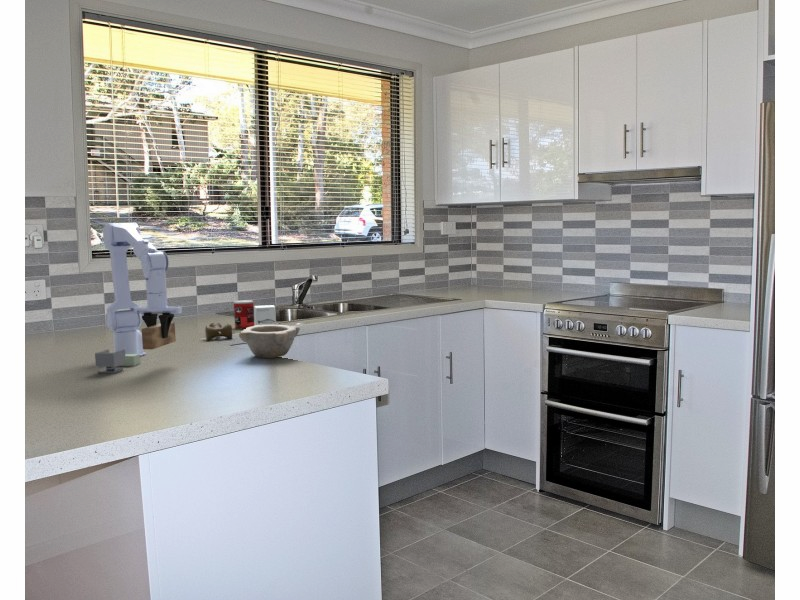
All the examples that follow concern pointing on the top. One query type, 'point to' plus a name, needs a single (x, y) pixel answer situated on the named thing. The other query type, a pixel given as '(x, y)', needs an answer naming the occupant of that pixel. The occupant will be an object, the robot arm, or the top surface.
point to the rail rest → (131, 360)
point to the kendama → (218, 331)
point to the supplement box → (265, 315)
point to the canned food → (244, 313)
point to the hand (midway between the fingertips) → (159, 337)
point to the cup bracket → (110, 361)
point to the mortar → (269, 339)
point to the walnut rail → (157, 336)
